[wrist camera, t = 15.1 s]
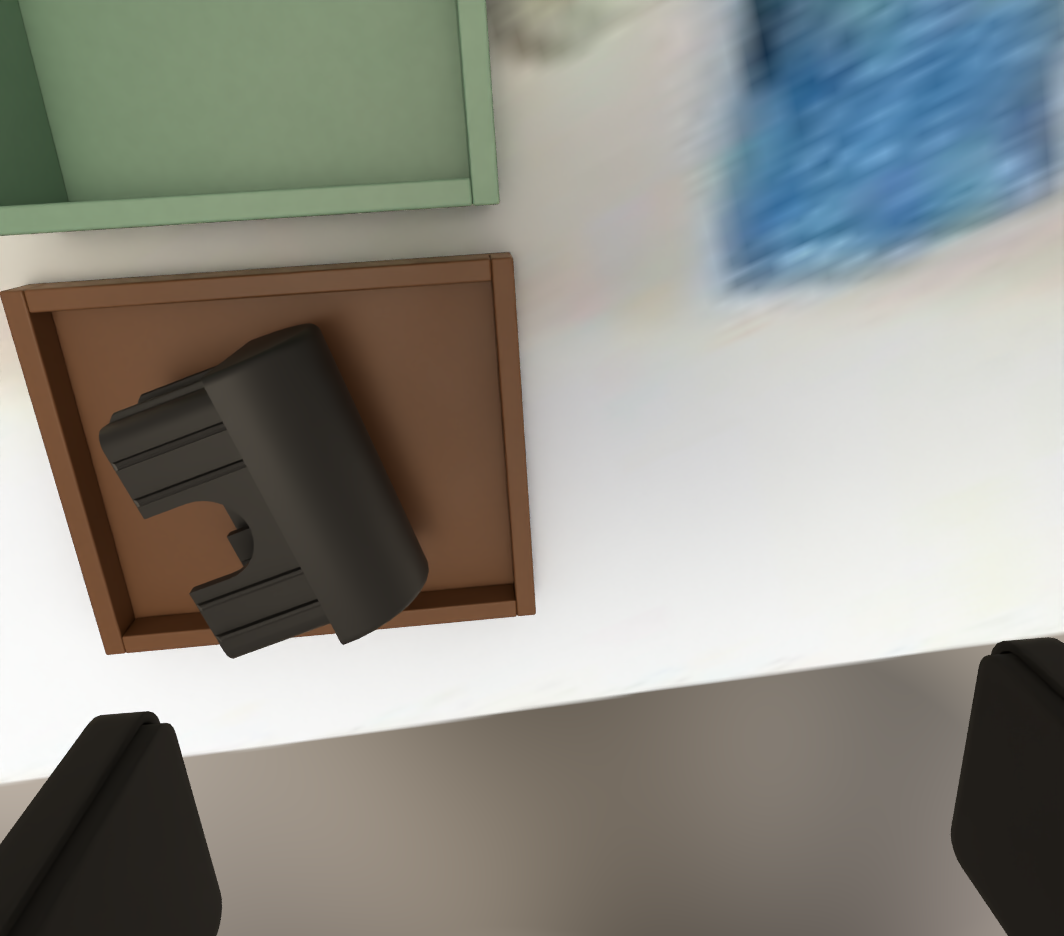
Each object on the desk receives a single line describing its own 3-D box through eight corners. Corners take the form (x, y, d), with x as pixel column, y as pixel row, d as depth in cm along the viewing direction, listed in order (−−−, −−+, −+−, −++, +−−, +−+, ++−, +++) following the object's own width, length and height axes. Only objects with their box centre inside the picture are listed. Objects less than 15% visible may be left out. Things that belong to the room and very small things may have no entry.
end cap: (434, 532, 32) (427, 618, 26) (278, 589, 33) (234, 687, 26) (332, 306, 29) (296, 342, 23) (158, 373, 29) (74, 426, 23)
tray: (510, 251, 29) (513, 256, 27) (532, 591, 34) (536, 615, 33) (28, 284, 28) (-3, 291, 26) (125, 629, 33) (105, 655, 32)
